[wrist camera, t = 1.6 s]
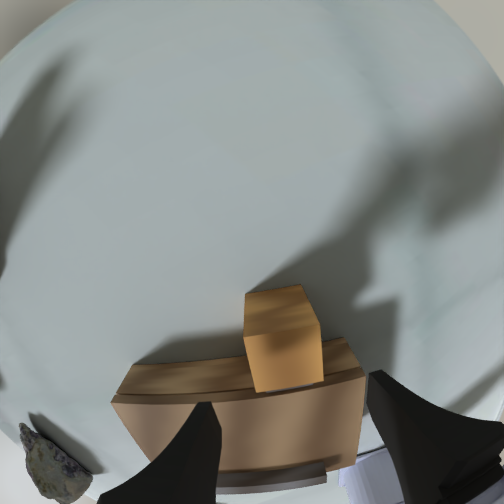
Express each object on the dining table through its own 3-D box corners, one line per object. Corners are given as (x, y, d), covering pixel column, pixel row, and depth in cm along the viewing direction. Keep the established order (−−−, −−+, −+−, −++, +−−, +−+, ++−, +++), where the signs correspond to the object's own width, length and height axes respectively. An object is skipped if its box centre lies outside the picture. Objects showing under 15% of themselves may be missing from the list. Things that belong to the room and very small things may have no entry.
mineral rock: (23, 412, 25) (-7, 451, 15) (77, 439, 25) (50, 490, 15) (49, 457, 28) (28, 492, 18) (99, 480, 28) (82, 521, 18)
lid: (352, 343, 18) (375, 381, 14) (347, 442, 21) (359, 477, 17) (119, 371, 19) (97, 408, 15) (172, 461, 22) (164, 494, 18)
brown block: (300, 284, 20) (319, 324, 14) (306, 332, 21) (323, 380, 15) (245, 293, 20) (243, 337, 14) (254, 340, 21) (256, 392, 15)
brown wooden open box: (344, 337, 21) (360, 365, 17) (342, 428, 24) (352, 455, 20) (132, 364, 21) (115, 393, 17) (175, 446, 24) (169, 473, 20)
